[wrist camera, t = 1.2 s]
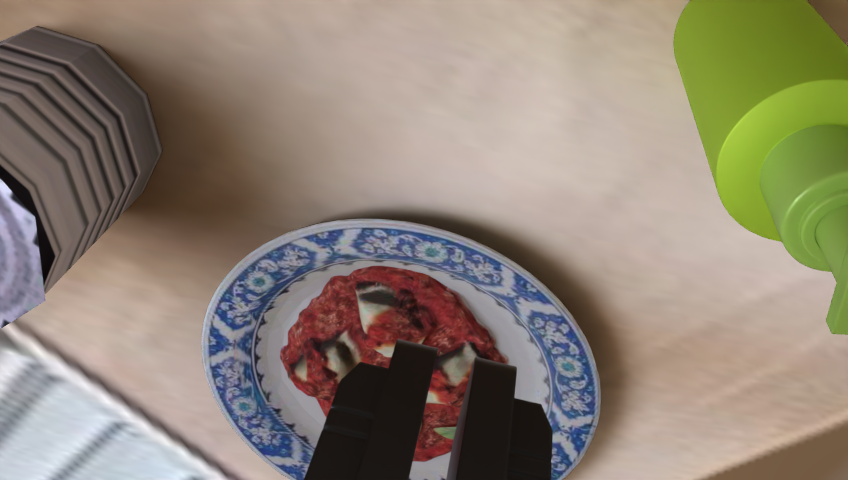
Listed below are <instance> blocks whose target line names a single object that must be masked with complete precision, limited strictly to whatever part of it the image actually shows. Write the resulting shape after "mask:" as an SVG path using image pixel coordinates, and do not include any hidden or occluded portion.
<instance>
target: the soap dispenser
mask: <svg viewBox="0 0 848 480" xmlns="http://www.w3.org/2000/svg"><path fill="white" fill-rule="evenodd" d="M674 54H675V58H676V62H677V65H678V68H679V71H680V74H681V77H682V81H683V84H684V87H685V90H686V93H687V96H688V99H689V103H690V106H691V109H692V112H693V115H694V118H695V121H696V125H697V128H698V131H699V134H700V137H701V140H702V143H703V147H704V150H705V153H706V156H707V159H708V162H709V166H710V169H711V172H712V175H713V178H714V181H715V184H716V188H717V191H718V194H719V197H720V199H721V201H722V203H723V205H724V207H725V208H726V210H727V211H728V213H729V214H730V215H731V216H732V217H733V218H734V219H735V220H736V221H737V222H738V223H739V224H740V225H742V226H743V227H744V228H746V229H747V230H749V231H751V232H753V233H755V234H757V235H759V236H762V237H765V238H768V239H771V240H776V241H781V242H782V243H783V245H784V247H785V248H786V250H787V251H788V252H789V253H790V255H791V256H792V257H793V258H794V259H796V260H797V261H798V262H800V263H801V264H803V265H805V266H807V267H810V268H813V269H816V270H821V271H828V272H832V274H833V276H834V278H835V280H836V282H837V284H836V287H835V291H834V294H833V298H832V301H831V304H830V308H829V311H828V315H827V318H826V322H827V324H828V326H829V329H830V331H831V333H832V334H846V335H848V46H847V45H846V44H845V43H844V42H843V41H842V40H841V38H840V37H839V36H838V35H837V34H836V33H835V32H834V31H833V29H832V28H831V27H830V26H829V25H828V24H827V23H826V22H825V21H824V19H823V18H822V17H821V16H820V15H819V14H818V13H817V12H816V11H815V9H814V8H813V7H812V6H811V5H810V4H809V3H808V2H807V0H691V1H690V2H689V3H688V4H687V6H686V7H685V9H684V10H683V12H682V14H681V16H680V18H679V20H678V23H677V26H676V29H675V34H674Z"/></svg>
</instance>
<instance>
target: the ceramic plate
mask: <svg viewBox="0 0 848 480" xmlns="http://www.w3.org/2000/svg"><path fill="white" fill-rule="evenodd" d="M397 339H400V340H405V341H409V342H413V343H417V344H422V345H426V346H430V347H435V348H438V352H437V356H436V361H435V365H434V369H433V374H432V378H431V383H430V387H429V392H428V396H427V401H426V405H425V409H424V414H423V418H422V423H421V427H420V432H419V436H418V440H417V445H416V449H415V454H414V458H413V462H412V467H411V471H410V476H409V480H446V478H447V472H448V466H449V461H450V455H451V450H452V445H453V440H454V435H455V430H456V426H457V422H458V418H459V414H460V410H461V406H462V403H463V399H464V395H465V391H466V387H467V384H468V380H469V376H470V372H471V369H472V365H473V361H474V358H475V357H478V358H482V359H486V360H491V361H495V362H499V363H504V364H508V365H512V366H516V367H517V376H516V386H515V397H514V398H517V399H521V400H525V401H530V402H534V403H538V404H541V405H542V407H543V409H544V412H545V414H546V416H547V419H548V421H549V423H550V425H551V428H552V430H553V440H552V459H551V463H552V470H551V480H563V479H564V478H565V477H566V476H567V475H569V473H570V472H571V471H572V470H573V469H574V468H575V467H576V466H577V464H578V463H579V462H580V461H581V459H582V458H583V456H584V454H585V453H586V451H587V449H588V447H589V445H590V443H591V441H592V439H593V437H594V434H595V431H596V427H597V424H598V420H599V415H600V407H601V389H600V379H599V375H598V370H597V366H596V362H595V359H594V357H593V354H592V351H591V348H590V346H589V343H588V341H587V338H586V337H585V335H584V334H583V332H582V330H581V329H580V327H579V326H578V324H577V322H576V321H575V319H574V317H573V316H572V314H571V313H570V312H569V311H568V310H567V308H566V307H565V306H564V305H563V303H562V302H561V301H560V300H559V299H558V298H557V297H556V296H555V295H554V294H553V293H552V292H551V291H550V290H549V289H548V288H547V287H546V286H545V285H544V284H543V283H542V282H540V281H539V280H538V279H537V278H536V277H534V276H533V275H532V274H531V273H530V272H528V271H527V270H525V269H524V268H522V267H521V266H520V265H518V264H517V263H515V262H514V261H512V260H511V259H509V258H507V257H505V256H504V255H502V254H500V253H498V252H497V251H495V250H493V249H491V248H489V247H487V246H485V245H482V244H480V243H478V242H476V241H474V240H472V239H469V238H466V237H463V236H461V235H458V234H455V233H452V232H450V231H446V230H442V229H439V228H435V227H431V226H428V225H423V224H417V223H412V222H406V221H398V220H388V219H347V220H336V221H330V222H324V223H318V224H314V225H311V226H307V227H304V228H300V229H297V230H293V231H290V232H288V233H286V234H284V235H281V236H279V237H277V238H275V239H273V240H271V241H269V242H267V243H265V244H263V245H262V246H260V247H259V248H257V249H256V250H254V251H253V252H251V253H250V254H249V255H247V256H246V257H245V258H244V259H243V260H242V261H240V262H239V263H238V264H237V265H236V266H235V267H234V268H233V269H232V270H231V271H230V272H229V274H228V275H227V276H226V277H225V278H224V280H223V281H222V282H221V284H220V285H219V287H218V288H217V290H216V292H215V294H214V296H213V298H212V300H211V302H210V304H209V307H208V310H207V313H206V316H205V319H204V325H203V330H202V359H203V365H204V370H205V374H206V378H207V381H208V384H209V387H210V389H211V392H212V394H213V396H214V398H215V401H216V403H217V405H218V406H219V408H220V410H221V412H222V413H223V415H224V417H225V418H226V419H227V421H228V422H229V424H230V425H231V427H232V428H233V429H234V430H235V432H236V433H237V434H238V435H239V436H240V438H241V439H242V440H243V441H244V442H245V443H246V444H247V445H248V446H249V447H250V448H251V449H252V450H253V451H254V452H255V453H256V454H257V455H258V456H259V457H261V458H262V459H263V460H264V461H265V462H266V463H268V464H269V465H270V466H271V467H273V468H274V469H275V470H276V471H278V472H279V473H280V474H282V475H283V476H285V477H287V478H288V479H290V480H304V478H305V475H306V472H307V469H308V467H309V464H310V461H311V459H312V456H313V453H314V450H315V448H316V445H317V442H318V440H319V437H320V434H321V432H322V430H323V427H324V423H325V421H326V418H327V415H328V413H329V410H330V409H331V404H332V402H333V399H334V396H335V394H336V391H337V388H338V385H339V383H340V380H341V379H342V378H343V377H345V376H346V375H347V374H348V373H349V372H350V371H351V370H352V369H353V368H354V367H355V366H356V365H357V364H358V363H359V362H363V363H368V364H372V365H376V366H380V367H385V368H389V364H390V361H391V358H392V354H393V351H394V348H395V344H396V342H397Z"/></svg>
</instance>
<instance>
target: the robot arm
mask: <svg viewBox="0 0 848 480" xmlns="http://www.w3.org/2000/svg"><path fill="white" fill-rule="evenodd" d="M437 352H438V348H435V347H430V346H426V345H422V344H417V343H413V342H409V341H405V340H400V339H397V342H396V344H395V348H394V351H393V354H392V358H391V361H390V364H389V368H385V367H380V366H376V365H372V364H368V363H363V362H359V363H358V364H357V365H356V366H355V367H354V368H353V369H352V370H351V371H350V372H349V373H348V374H347V375H346V376H345V377H343V378H342V379H341V380H340V383H339V385H338V388H337V391H336V394H335V396H334V399H333V402H332V404H331V409H330V410H329V413H328V415H327V418H326V421H325V423H324V427H323V430H322V432H321V434H320V437H319V440H318V442H317V445H316V448H315V450H314V453H313V456H312V459H311V461H310V464H309V467H308V469H307V472H306V475H305V478H304V480H409V476H410V471H411V467H412V462H413V458H414V454H415V449H416V445H417V440H418V436H419V432H420V427H421V423H422V418H423V414H424V409H425V405H426V401H427V396H428V392H429V387H430V383H431V378H432V374H433V369H434V365H435V361H436V356H437ZM516 376H517V367H516V366H512V365H508V364H504V363H499V362H495V361H491V360H486V359H482V358H478V357H475V358H474V361H473V365H472V369H471V372H470V376H469V380H468V384H467V387H466V391H465V395H464V399H463V403H462V406H461V410H460V414H459V418H458V422H457V426H456V430H455V435H454V440H453V445H452V450H451V455H450V461H449V466H448V472H447V478H446V480H551V470H552V463H551V459H552V440H553V430H552V428H551V425H550V423H549V421H548V419H547V416H546V414H545V412H544V409H543V407H542V405H541V404H538V403H534V402H530V401H525V400H521V399H517V398H514V397H515V386H516Z"/></svg>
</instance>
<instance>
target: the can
mask: <svg viewBox="0 0 848 480" xmlns="http://www.w3.org/2000/svg"><path fill="white" fill-rule="evenodd" d="M161 153H162V147H161V143H160V140H159V136H158V133H157V129H156V126H155V122H154V119H153V115H152V111H151V108H150V104H149V101H148V97H147V94H146V93H145V92H144V91H143V90H142V89H141V88H140V87H139V86H138V85H137V84H136V83H135V82H134V81H133V80H132V79H131V78H130V77H129V76H128V75H127V74H126V73H125V72H124V71H123V70H122V69H121V68H120V67H119V66H118V65H117V64H116V63H115V62H114V61H113V60H112V59H111V58H110V57H109V56H108V55H107V54H106V53H105V52H104V50H103V49H102V48H101V47H100V46H99V45H97V44H93V43H90V42H87V41H83V40H80V39H77V38H74V37H70V36H67V35H64V34H60V33H57V32H54V31H51V30H47V29H44V28H41V27H37V26H36V27H33V28H31V29H29V30H26V31H24V32H22V33H19V34H17V35H15V36H13V37H10V38H8V39H6V40H3V41H1V42H0V329H1V328H3V327H4V326H6V325H7V324H9V323H11V322H12V321H14V320H15V319H17V318H19V317H20V316H22V315H23V314H25V313H27V312H28V311H30V310H31V309H33V308H35V307H36V306H38V305H39V304H41V303H43V302H44V301H45V294H46V293H47V292H48V291H49V290H50V289H51V288H52V287H53V285H54V284H55V283H56V282H57V281H58V280H59V279H60V278H61V277H62V276H63V275H64V274H65V273H66V272H67V271H68V270H69V269H70V268H71V267H72V266H73V265H74V264H75V263H76V262H77V260H78V259H79V258H80V257H81V256H82V255H83V254H84V253H85V252H86V251H87V250H88V249H89V248H90V247H91V246H92V245H93V244H94V243H95V242H96V241H97V240H98V239H99V238H100V236H101V235H102V234H103V233H104V232H105V231H106V230H107V229H108V228H109V227H110V226H111V225H112V224H113V223H114V222H115V221H116V220H117V219H118V218H119V217H120V216H121V215H122V214H123V213H124V211H125V210H126V209H127V208H128V207H129V206H130V205H131V204H132V203H133V202H134V201H135V200H136V199H137V198H138V197H139V196H140V195H141V194H142V193H143V191H144V189H145V187H146V185H147V183H148V181H149V178H150V176H151V174H152V172H153V170H154V168H155V166H156V163H157V161H158V159H159V157H160V155H161Z"/></svg>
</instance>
